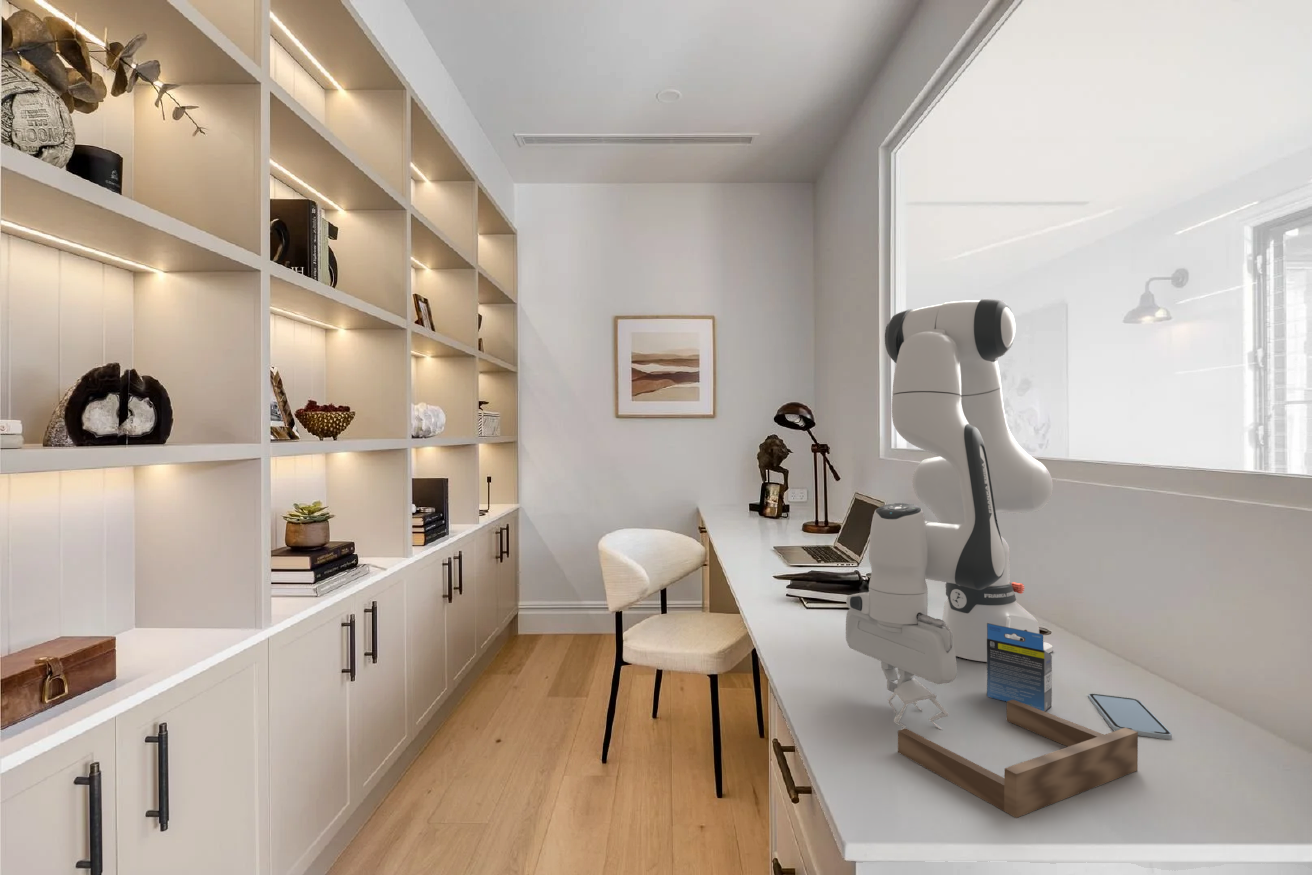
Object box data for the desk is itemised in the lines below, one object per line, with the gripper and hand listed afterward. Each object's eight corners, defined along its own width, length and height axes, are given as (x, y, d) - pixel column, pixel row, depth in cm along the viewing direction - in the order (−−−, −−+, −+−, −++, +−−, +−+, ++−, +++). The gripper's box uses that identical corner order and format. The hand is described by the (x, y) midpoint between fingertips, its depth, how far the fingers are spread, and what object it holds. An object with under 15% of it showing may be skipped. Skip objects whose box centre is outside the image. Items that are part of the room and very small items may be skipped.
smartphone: (1138, 698, 110) (1174, 735, 96) (1138, 704, 110) (1174, 742, 96) (1086, 692, 113) (1114, 727, 99) (1086, 698, 113) (1114, 734, 99)
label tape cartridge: (1053, 706, 108) (1053, 629, 108) (1044, 713, 105) (1044, 634, 105) (995, 690, 114) (995, 618, 114) (985, 696, 112) (985, 622, 112)
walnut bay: (1013, 719, 103) (1013, 686, 103) (1137, 770, 87) (1137, 732, 87) (897, 752, 92) (897, 715, 92) (1016, 817, 77) (1016, 774, 77)
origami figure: (953, 740, 96) (953, 706, 96) (891, 734, 98) (891, 700, 98) (937, 706, 108) (937, 676, 107) (882, 702, 109) (882, 671, 109)
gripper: (967, 620, 100) (966, 713, 100) (867, 591, 118) (867, 669, 118) (936, 625, 97) (936, 721, 97) (839, 594, 115) (839, 675, 115)
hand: (897, 692), depth 108 cm, fingers closed
